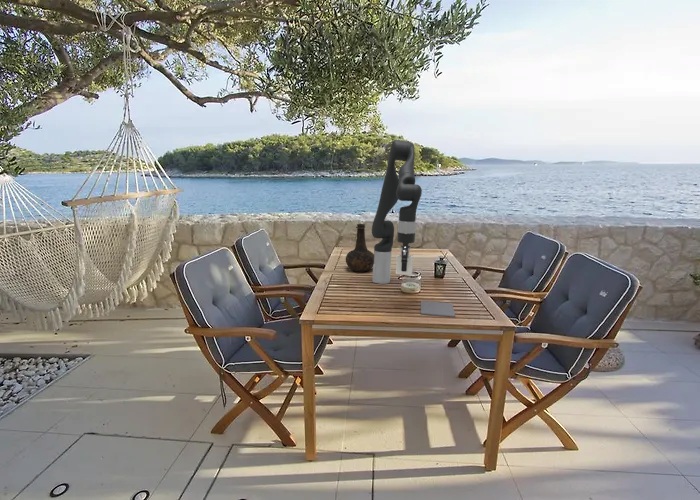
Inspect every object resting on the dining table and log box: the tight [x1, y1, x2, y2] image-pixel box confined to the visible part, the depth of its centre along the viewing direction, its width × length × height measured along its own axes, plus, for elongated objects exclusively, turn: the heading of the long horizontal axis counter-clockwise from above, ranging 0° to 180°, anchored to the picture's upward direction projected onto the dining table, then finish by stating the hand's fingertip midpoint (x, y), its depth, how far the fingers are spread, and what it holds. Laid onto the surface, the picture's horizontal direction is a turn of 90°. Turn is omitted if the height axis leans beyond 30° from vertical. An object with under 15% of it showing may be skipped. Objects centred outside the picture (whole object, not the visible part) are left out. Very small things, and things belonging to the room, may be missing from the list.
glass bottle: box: [345, 223, 374, 273], centre depth 231 cm, size 18×18×28 cm
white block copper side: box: [395, 254, 414, 276], centre depth 170 cm, size 7×4×8 cm, turn 80°
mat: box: [420, 300, 456, 318], centre depth 170 cm, size 14×16×1 cm
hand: (404, 269), depth 170 cm, fingers closed on white block copper side, 3 cm apart
